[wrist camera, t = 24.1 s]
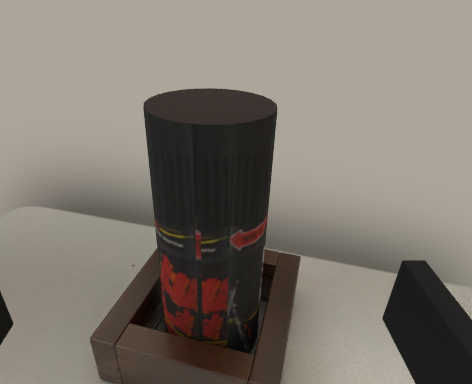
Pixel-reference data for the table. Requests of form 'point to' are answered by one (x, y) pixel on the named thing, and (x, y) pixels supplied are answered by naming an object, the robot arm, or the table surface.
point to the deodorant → (211, 209)
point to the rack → (188, 350)
